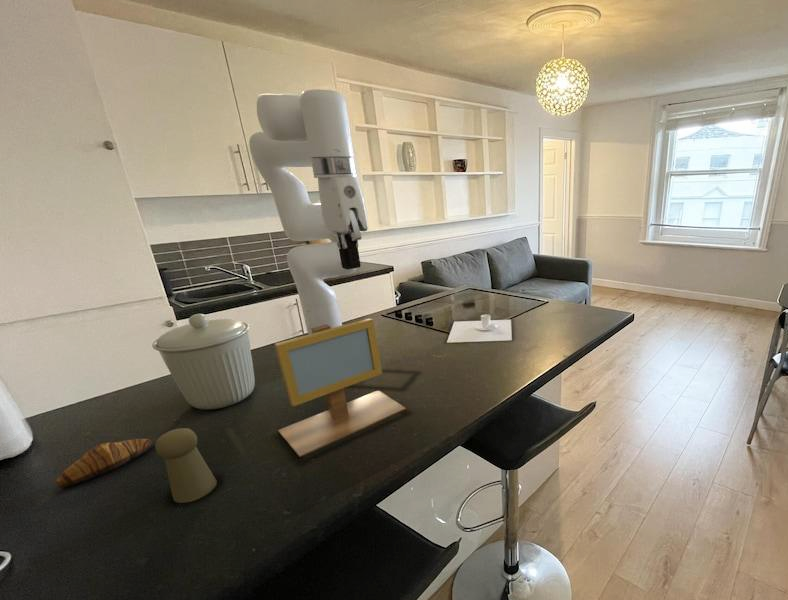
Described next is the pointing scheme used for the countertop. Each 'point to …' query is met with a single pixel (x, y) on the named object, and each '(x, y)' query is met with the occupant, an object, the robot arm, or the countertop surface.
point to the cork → (185, 465)
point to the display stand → (338, 418)
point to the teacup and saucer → (481, 330)
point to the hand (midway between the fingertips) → (351, 267)
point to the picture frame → (328, 360)
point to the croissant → (102, 460)
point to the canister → (209, 361)
